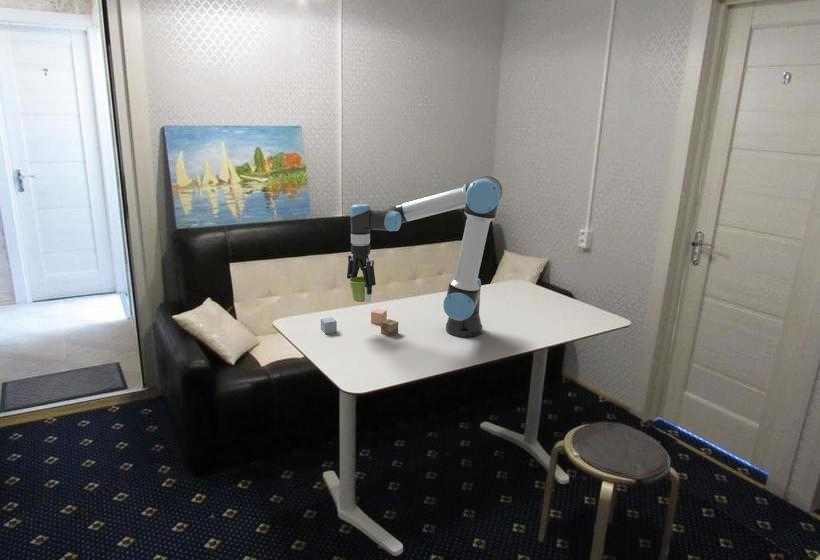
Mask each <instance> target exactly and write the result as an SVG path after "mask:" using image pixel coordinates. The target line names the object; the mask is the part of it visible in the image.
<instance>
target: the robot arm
mask: <svg viewBox="0 0 820 560" xmlns="http://www.w3.org/2000/svg"><path fill="white" fill-rule="evenodd" d="M502 196H503V186H502V184H501V182H500V181H499V180H498V179H497V178H495V177H494V176H491V175H485V176H481V177H479V178H477V179H474V180H472V181H469V182H466V183H464V185H463V186H462V187H459V188H458V187H457V188H454V189H450V190H447V191H443V192H440V193H436V194H433V195H432V194H431V195H430V196H429V195H428V196H426V197H421V198H418V199H414V200H411V201H407V202H403V203H400V204H394V205H390V206H389V207H388V208H386V209H384V210H373V209H371V205H370V204H368V203H355V204H352V205H351V206H350V216H349V217H350V244H351V245H350V253H351V254H350V255H348V256H347V257H348V258H347V259H348V262H347V273H346V278H347V279H348V280H349V279H350V278H354V277H357V276H358V274H359V271H361V272H362V276H364V280H365V282H366V286H365V301H364V303H370V302H372V294H373V287H374V286H376V283H377V282H376V275H375V268H374V267H375V266H374V265H375V261H374V260H370V259H369V255H370V254H371V244H370V243H371V231H384V232H385V231H388V232H397V231H399V230H400V228H401V226H402V224H404V223H408V222H411V221H414V220H415V221H416V220H420V219H424V218H426V217H431V216H435V215H438V214H439V215H440V214H442V213H446V212H450V211H453V210H457V209H461V208H464V211H463V213H464V215H465V216H466V220H465V226H464V231H463V236H462V240H461V243H460V244H461V245H460V251H459V255H458V260H457V265H456V268H455V274H454V277H452V279H450V280H449V282H448V287H447V293H446V296H445V298H444V300H443V306H442V307H443V310H444V313H445V314H446V316H448V319H447V322H446V324H445V332H446V333H448V334H449V335H451V336H453V337H454V336H455V337H458V338H459V337H460V338H461V337H462V338H473V337H478V336H480V335H481V334H482V333H483V329H484V328H483V324H482V321H481V317H480V304H481V303H480V301H481V288H482V281H481V279H480V278H479V273H480V268H481V264H482V260H483V255H484V251H485V247H486V246H485V245H486V242H487V237H488V232H489V229H490V223H491V222H492V221H493V220H496V215H497V211H498V207H499V204H500V201H501V198H502ZM368 283H369V284H368ZM350 297H351V298H353V293H352V287H351V286H350Z"/></svg>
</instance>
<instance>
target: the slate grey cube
mask: <svg viewBox="0 0 820 560" xmlns="http://www.w3.org/2000/svg"><path fill="white" fill-rule="evenodd" d="M337 324H338V323H337V320H336V319H335V318H334V317H324V318H320V331H321V330H322V331H323V332H324V333H325V334H324V333H323V332H322V331H321V332H322V333H323V334H324V335H327V334H326V333H331V334H335V333H334V332H338V331H337V330H338V329H337V328H338V327H337V326H338V325H337Z"/></svg>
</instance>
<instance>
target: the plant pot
mask: <svg viewBox="0 0 820 560" xmlns="http://www.w3.org/2000/svg"><path fill="white" fill-rule="evenodd" d="M348 281H349V282H350V288H351V287H352V293H353V297H352V298H353V299H352V300H353V301H355V302H356V303H365V286H366V282H365V280H364V276H363V275H359V276H358V275H357V277H354V278H350V279H348ZM368 284H369V283H368Z"/></svg>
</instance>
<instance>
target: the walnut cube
mask: <svg viewBox="0 0 820 560" xmlns="http://www.w3.org/2000/svg"><path fill="white" fill-rule="evenodd" d="M380 334H381V335H383V336H387V337H393V336H395V335H397V334H399V321H397V320H393V319H390V318H389V319H387V320H385V321H383V322H381V325H380Z"/></svg>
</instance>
